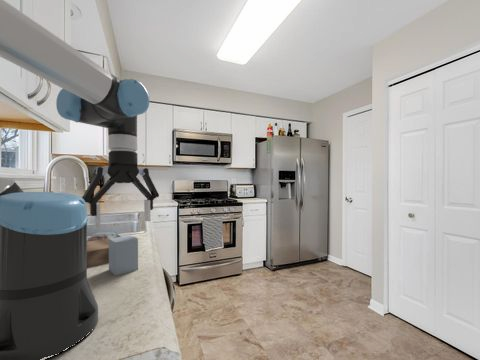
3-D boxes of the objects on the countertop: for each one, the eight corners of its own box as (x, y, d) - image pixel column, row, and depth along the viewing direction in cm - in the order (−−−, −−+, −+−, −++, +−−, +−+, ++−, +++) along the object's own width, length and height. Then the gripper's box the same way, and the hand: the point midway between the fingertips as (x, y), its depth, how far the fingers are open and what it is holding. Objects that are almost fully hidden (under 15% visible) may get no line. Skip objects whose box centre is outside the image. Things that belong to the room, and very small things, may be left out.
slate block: (115, 275, 62) (115, 242, 62) (108, 269, 66) (108, 238, 66) (138, 269, 66) (137, 238, 66) (130, 264, 70) (130, 235, 70)
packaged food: (113, 246, 90) (113, 234, 90) (81, 248, 88) (81, 235, 88) (121, 241, 99) (121, 230, 99) (92, 243, 97) (92, 231, 97)
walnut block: (86, 268, 68) (86, 251, 68) (77, 257, 78) (77, 243, 78) (135, 257, 78) (134, 242, 78) (121, 249, 88) (121, 236, 88)
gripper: (158, 155, 78) (159, 217, 78) (68, 149, 60) (69, 229, 60) (169, 153, 72) (170, 219, 72) (73, 145, 55) (74, 233, 55)
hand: (124, 224), depth 66 cm, fingers open, 13 cm apart
